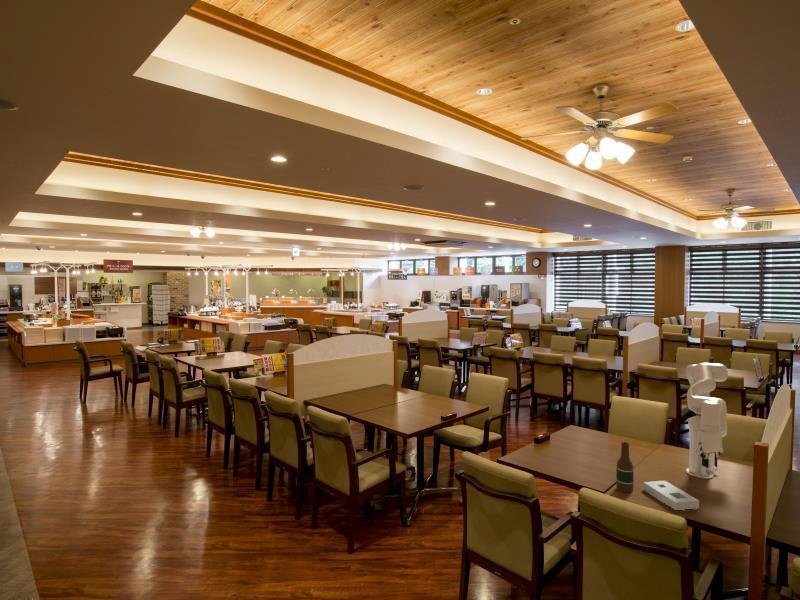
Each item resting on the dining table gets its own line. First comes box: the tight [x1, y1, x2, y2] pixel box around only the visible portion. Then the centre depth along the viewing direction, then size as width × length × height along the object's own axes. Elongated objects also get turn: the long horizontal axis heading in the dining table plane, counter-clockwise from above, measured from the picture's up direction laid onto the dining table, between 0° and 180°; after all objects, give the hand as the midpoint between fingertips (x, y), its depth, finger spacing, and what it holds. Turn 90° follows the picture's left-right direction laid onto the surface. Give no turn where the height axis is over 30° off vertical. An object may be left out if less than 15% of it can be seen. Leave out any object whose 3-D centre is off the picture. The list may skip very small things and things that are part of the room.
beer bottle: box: [615, 441, 634, 494], centre depth 235 cm, size 8×8×24 cm
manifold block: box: [642, 480, 700, 511], centre depth 224 cm, size 12×22×4 cm, turn 9°
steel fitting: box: [704, 452, 716, 476], centre depth 217 cm, size 4×4×10 cm
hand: (709, 465), depth 217 cm, fingers closed on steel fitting, 4 cm apart
